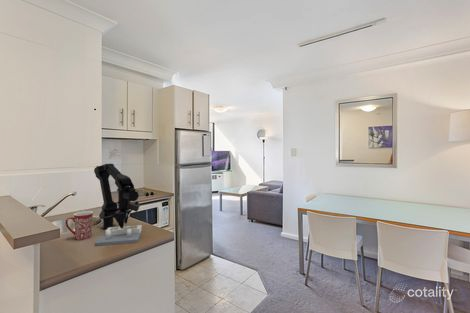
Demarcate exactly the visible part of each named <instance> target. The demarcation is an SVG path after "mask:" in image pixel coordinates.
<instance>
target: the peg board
mask: <svg viewBox="0 0 470 313" xmlns="http://www.w3.org/2000/svg"><path fill="white" fill-rule="evenodd" d="M105 231H106V230H105ZM141 235H142V232H140V233H132V232H131V229H127V234H118V235H111V230H108V231H106V235H100V237H98V239H97V240H96V241H95V242H94V247H100V246H111V245H123V244H133V243H138V242H139V240H140V238H141Z"/></svg>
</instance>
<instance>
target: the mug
mask: <svg viewBox="0 0 470 313" xmlns="http://www.w3.org/2000/svg"><path fill="white" fill-rule="evenodd" d="M93 215H94V212H93V211H91V210H87V211H86V210H85V211H78V212H75V213H73V216H69V217H68V218H66V220H65V227H66V228H67V229H68V231H69V232H70V233H71V234H73V235H74V237H75V238H74V239H75V240H80V241H81V240H87V239H89V238H91V237H92V228H93ZM69 220H72V221H73V222H74V230H73V229H72V228H71V227H70V226H69V224H68V222H69Z"/></svg>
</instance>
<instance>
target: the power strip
mask: <svg viewBox="0 0 470 313" xmlns="http://www.w3.org/2000/svg"><path fill="white" fill-rule="evenodd" d="M142 227H143V226H142V224H136V225H126V226H125V225H124V226H123V228H120V226H114V227H109V228H108V229H105V231H104V233H105V235H106V231H108V230H111V235H118V234H127V229H131V232H132V233H142V231H143V230H142V229H143V228H142ZM105 235H104V236H105Z"/></svg>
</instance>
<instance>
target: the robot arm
mask: <svg viewBox="0 0 470 313" xmlns="http://www.w3.org/2000/svg"><path fill="white" fill-rule="evenodd" d="M93 173H94V175H95V178H97V179H98V181H99V183H100V189H101V195H102V199H103V204H102V206H101V211H100V213H99V214H98V215H99V216H98V218H99V220H102V225H103V226H101V228H100V229H101V230H107V229H108V228H109V227H116V224H114V223H115V222H114V220H115V221H116V222H117V224H118V225H119V226H118V227H120V228H123V226H125V224H128V221H129V215H130V213H131V212H132V211H134V212H138V211H139V209H140V206H141V204H140V202H139V201H137V200H138V199H139V196H140V195H139V193H138V191H136V188H135V185H134V184H133V180H132V179H131V178H130V177H129V176H128V175H126V174H123V173H121V171H119V169H118V168H117V167H116V166H115V164H114V163H104V164H102V165H97V166H96V167H94V170H93ZM110 176H111V177H112V179H113V180H114V185H115V186H116V187H117V188H116V191H117V193H118V196H117V197H118V199H117V200H118V201H117V202H116V201H114V200H113V196H112V191H111V185H110V181H109V179H110Z"/></svg>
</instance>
